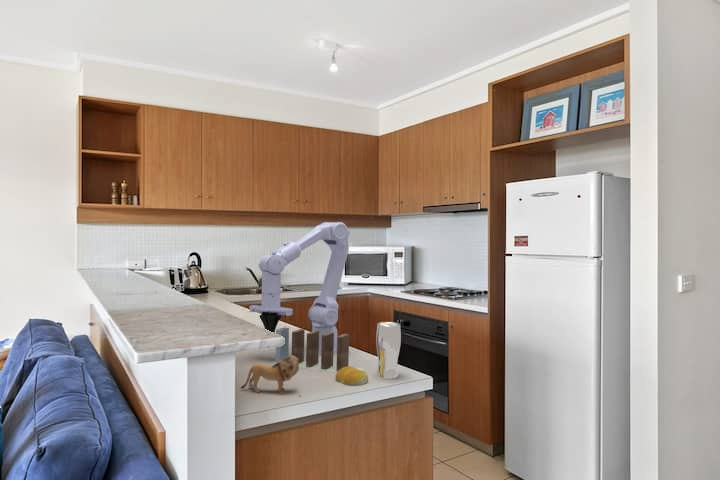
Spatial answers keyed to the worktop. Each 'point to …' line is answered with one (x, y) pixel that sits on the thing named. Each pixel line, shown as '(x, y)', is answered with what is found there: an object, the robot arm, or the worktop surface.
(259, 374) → the lion figurine
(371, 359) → the worktop surface
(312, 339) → the domino
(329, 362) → the domino
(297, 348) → the domino
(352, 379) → the bread roll
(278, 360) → the domino
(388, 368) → the beer glass
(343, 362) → the domino
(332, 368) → the mat
